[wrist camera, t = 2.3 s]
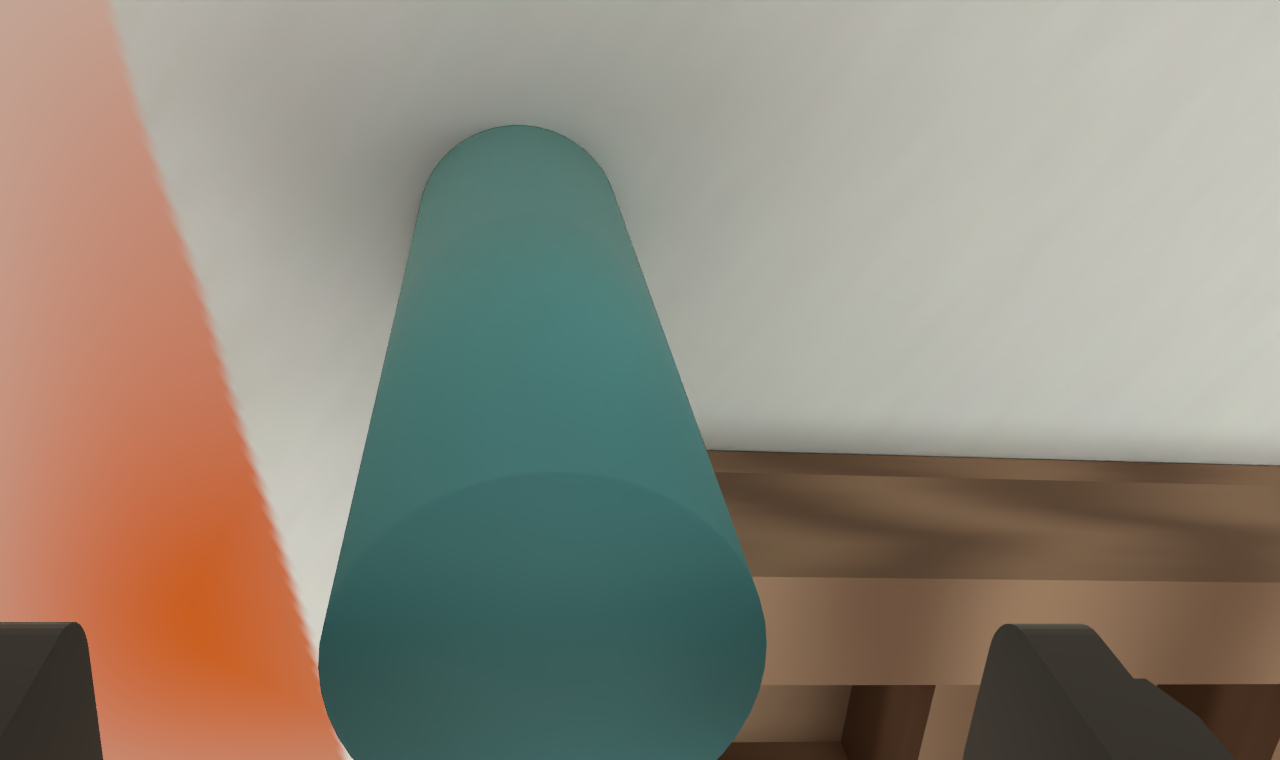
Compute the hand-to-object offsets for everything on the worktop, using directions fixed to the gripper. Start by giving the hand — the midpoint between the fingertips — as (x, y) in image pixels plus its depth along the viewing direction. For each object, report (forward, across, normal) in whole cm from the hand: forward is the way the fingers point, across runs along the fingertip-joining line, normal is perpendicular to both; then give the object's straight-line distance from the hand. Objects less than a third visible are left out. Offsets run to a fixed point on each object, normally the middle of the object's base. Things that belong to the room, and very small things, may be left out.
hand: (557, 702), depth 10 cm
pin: (+14, 0, 0) cm, 14 cm away
